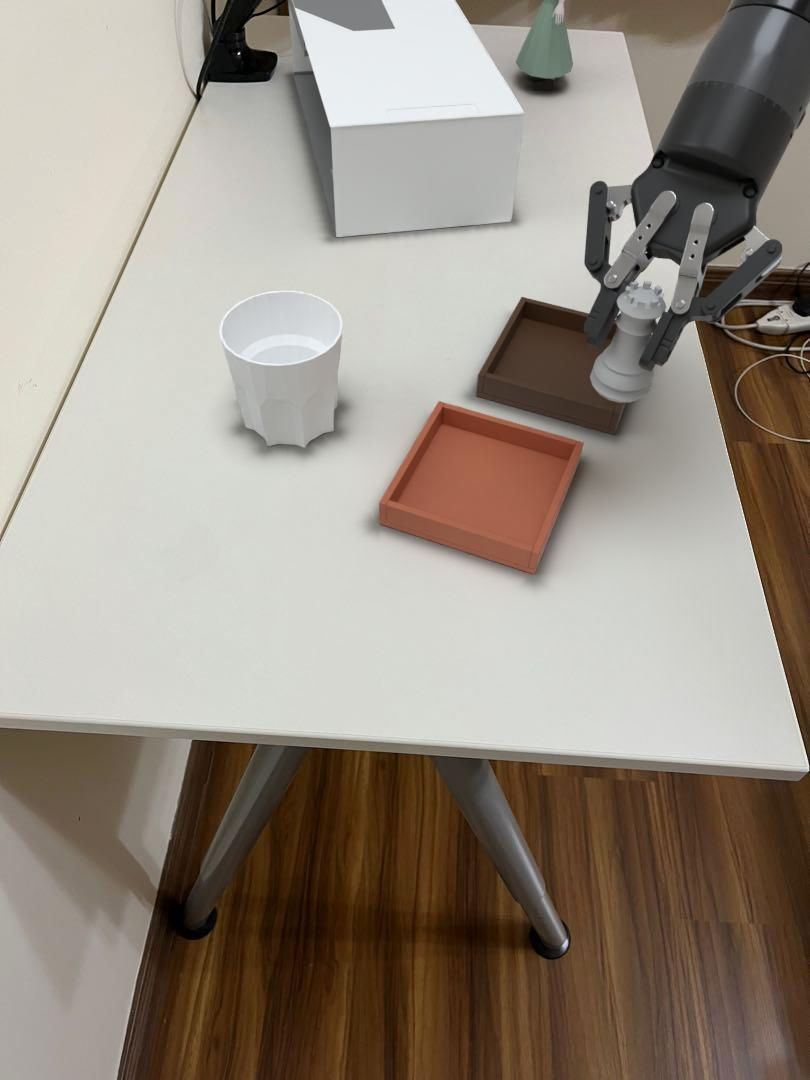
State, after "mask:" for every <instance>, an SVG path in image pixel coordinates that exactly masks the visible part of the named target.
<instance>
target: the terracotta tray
mask: <svg viewBox="0 0 810 1080" xmlns="http://www.w3.org/2000/svg"><path fill="white" fill-rule="evenodd" d="M584 445H585V443H584V442H583V441H580V440H577V439H573V438H569V437H567V436H564V435H563V436H562V435H560V434H556V433H552V432H549V431H545V430H542V429H538V428H534V427H531V426H528V425H524V424H521V423H517V422H514V421H510V420H507V419H504V418H500V417H497V416H493V415H489V414H486V413H483V412H478V411H475V410H472V409H468V408H465V407H461V406H458V405H455V404H452V403H447V402H444V401H441V400H438V401H437V403H436V405H435V406H434V408H433V410H432V412H431V413H430V415H429V417H428V419H427V420H426V422H425V423H424V425H423V427H422V429H421V430H420V431H419V434H418V435H417V436H416V439H415V441H414V443H413V444H412V446H411V448H410V450H409V451H408V453H407V454H406V456H405V458H403V459H404V460H403V461H402V463H401V465H400V466H399V468H398V469H397V471H396V473H395V475H394V476H393V478H392V480H391V481H390V483H389V485H388V486H387V488H386V490H385V491H384V493H383V495H382V497H381V499H380V500H379V502H378V517H379V518H378V519H379V521H378V523H379V525H382V526H386V527H389V528H390V529H391V528H392V529H395V530H397V531H400V532H404V533H406V534H409V535H413V536H416V537H418V538H421V539H425V540H428V541H431V542H435V543H437V544H439V545H443V546H447V547H448V548H449V547H450V548H452V549H455V550H458V551H462V552H464V553H468V554H470V555H473V556H476V557H480V558H483V559H486V560H489V561H491V562H494V563H498V564H501V565H505V566H507V567H510V568H513V569H516V570H520V571H523V572H525V573H529V574H532V575H536V573H537V570H538V567H539V564H540V562H541V560H542V558H543V554H544V552H545V549H546V547H547V545H548V542H549V540H550V537H551V534H552V532H553V529H554V527H555V524H556V521H557V520H558V517H559V514H560V512H561V509H562V507H563V504H564V501H565V498H566V497H567V494H568V492H569V489H570V487H571V484H572V481H573V479H574V477H575V474H576V472H577V469H578V468H579V467H578V466H579V464H580V460H581V456H582V453H583V448H584Z"/></svg>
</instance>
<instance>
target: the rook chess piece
mask: <svg viewBox="0 0 810 1080" xmlns="http://www.w3.org/2000/svg"><path fill="white" fill-rule="evenodd" d="M639 284H640V283H639V281H638V280H635V281H634V282H631V284H630V287H629V286H627V287H626V290H625V292H623V293H622V294H621V295H620V296H619V297H618V299H617V304H618V307H619V309H620V311H619V313H618V315H617V317H616V319H615V321H616V324H617V329H616V332H615V334H614V337H613V339H612V341H611V344H610V345H609V346H608V347H607V348H606V349H605V350H604V352H603V353H602V354H600V355H599V356H598V357H597V359H596V360H595V363H594V366H593V369H592V372H591V375H590V379H591V383H592V385H593V387H594V388H595V390H596V391H597V392H598V393H599V394H600V395H601V396H603V397H604V398H606V399H608V400H611V401H615V402H619V403H626V404H627V403H632V402H635V401H638V400H641V399H643V398H644V397H645V396H646V395H647V394H648V393H650V391H651V389H652V385H653V378H654V376H655V370H654V368H653V370H652V371H651V372H650V371H647V370H645V369H642V368H641V367H640V366H639V360H640V358H641V356H642V354H643V352H644V350H645V348H646V346H647V343H648V341H649V339H650V337H651V335H652V333H653V331H654V329H655V327H656V325H657V323H658V321H657V319H658V318H660V317H661V315H662V313H663V311H665V312H666V310H667V304H666V301H665V299H664V297H665V293H662V292H663V288H662V287H661V286H660V285H659V284H657V285H656V286H654V289H653V288H651V287H652V281H648V280H643V284H642V286H639Z"/></svg>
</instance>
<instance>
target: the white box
mask: <svg viewBox="0 0 810 1080" xmlns="http://www.w3.org/2000/svg"><path fill="white" fill-rule="evenodd" d="M287 3H288V14H289V27H290V40H291V41H290V42H291V53H292V54H291V55H292V66H293V72H292V75H293V79H294V83H295V88H296V91H297V94H298V98H299V102H300V106H301V111H302V114H303V119H304V121H305V126H306V129H307V134H308V137H309V141H310V144H311V149H312V153H313V157H314V160H315V164H316V167H317V171H318V175H319V179H320V184H321V187H322V191H323V195H324V198H325V201H326V207H327V210H328V214H329V217H330V222H331V225H332V227H333V228H332V229H333V234H334V237H336V238H343V237H355V236H367V235H376V234H377V235H378V234H388V233H399V232H410V231H411V232H413V231H424V230H432V229H433V230H434V229H444V228H445V229H446V228H455V227H466V226H478V225H479V226H480V225H488V224H489V225H490V224H500V223H502V224H503V223H511V222H512V220H513V213H514V204H515V197H516V187H517V181H518V180H517V179H518V172H519V165H520V164H519V163H520V155H521V147H522V141H523V133H524V132H523V131H524V123H525V115H526V113H525V110H523V109H524V108H522V106H521V104H520V102H519V101H518V99H517V97H516V96H515V95H514V93H513V91H512V89H511V88H510V86H509V84H508V82H507V80H506V79H505V78H504V77H503V75H502V73H501V72H500V70H499V69H498V67H497V65H496V64H495V62H494V61H493V59H492V57H491V56H490V54H489V52H488V50H487V49H486V48H485V46H484V45H483V43H482V41H481V39H480V37H479V36H478V34H477V32H476V31H475V29H474V28H473V26H472V25H471V23H470V22H469V20H468V19H467V17H466V16H465V14H464V12H463V11H462V9H461V7H460V5H459V4H458V2H457V1H456V0H287Z"/></svg>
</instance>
